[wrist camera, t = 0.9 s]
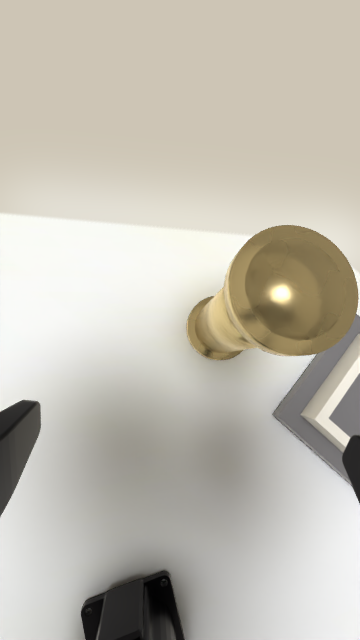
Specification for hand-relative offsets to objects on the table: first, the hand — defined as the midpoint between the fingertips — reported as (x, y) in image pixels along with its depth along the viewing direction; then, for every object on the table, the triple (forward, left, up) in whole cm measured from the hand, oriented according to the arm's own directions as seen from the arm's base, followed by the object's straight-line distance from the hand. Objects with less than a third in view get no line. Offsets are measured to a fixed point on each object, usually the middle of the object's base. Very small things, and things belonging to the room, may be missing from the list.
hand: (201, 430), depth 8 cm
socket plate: (-6, -17, -15) cm, 23 cm away
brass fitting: (+4, -6, -15) cm, 17 cm away
